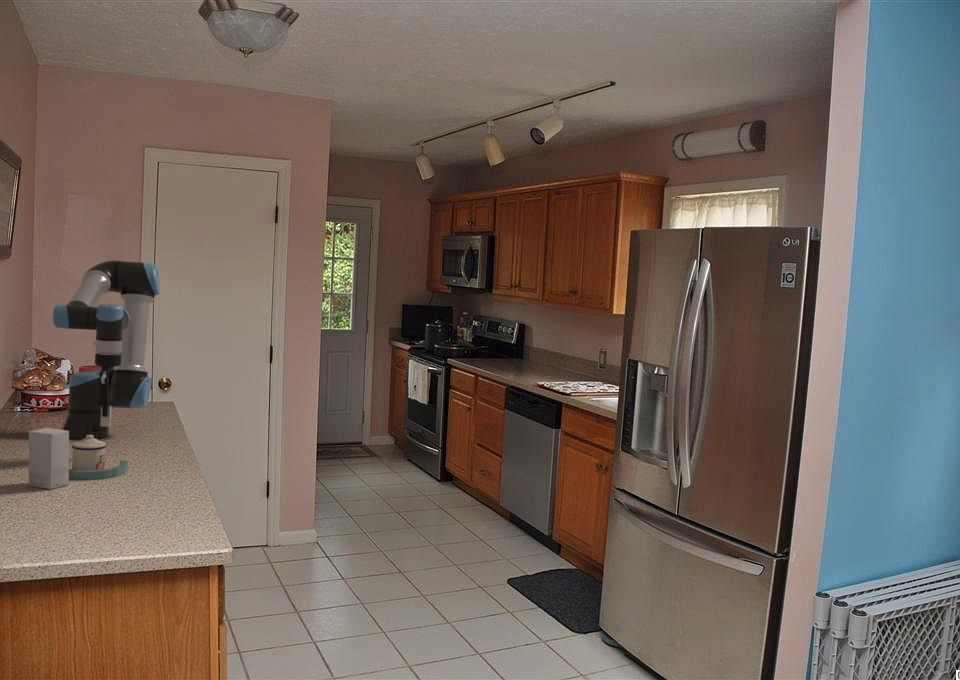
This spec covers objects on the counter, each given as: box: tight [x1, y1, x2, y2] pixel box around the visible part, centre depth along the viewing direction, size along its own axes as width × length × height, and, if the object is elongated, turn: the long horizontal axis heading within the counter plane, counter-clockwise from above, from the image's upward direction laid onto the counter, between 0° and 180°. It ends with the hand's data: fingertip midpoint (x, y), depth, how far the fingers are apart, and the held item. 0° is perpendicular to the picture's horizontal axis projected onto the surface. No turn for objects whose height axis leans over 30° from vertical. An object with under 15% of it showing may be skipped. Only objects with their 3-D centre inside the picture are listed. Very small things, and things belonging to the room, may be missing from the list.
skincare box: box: [28, 427, 70, 490], centre depth 219 cm, size 8×7×16 cm
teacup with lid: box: [71, 435, 107, 470], centre depth 236 cm, size 12×9×12 cm
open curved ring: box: [69, 458, 129, 481], centre depth 236 cm, size 16×20×2 cm
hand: (105, 425), depth 253 cm, fingers closed
